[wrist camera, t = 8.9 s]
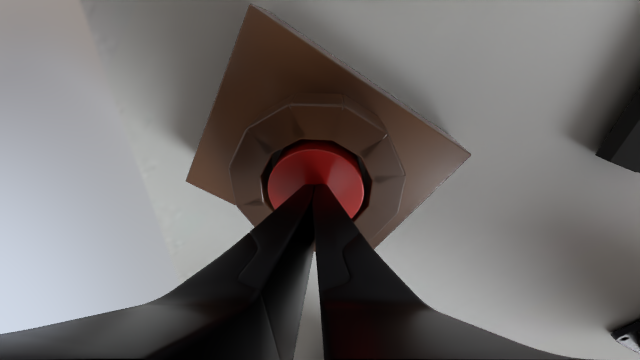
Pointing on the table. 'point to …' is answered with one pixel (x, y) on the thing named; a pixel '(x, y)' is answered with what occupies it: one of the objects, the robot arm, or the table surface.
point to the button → (317, 172)
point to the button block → (315, 128)
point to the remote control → (624, 138)
